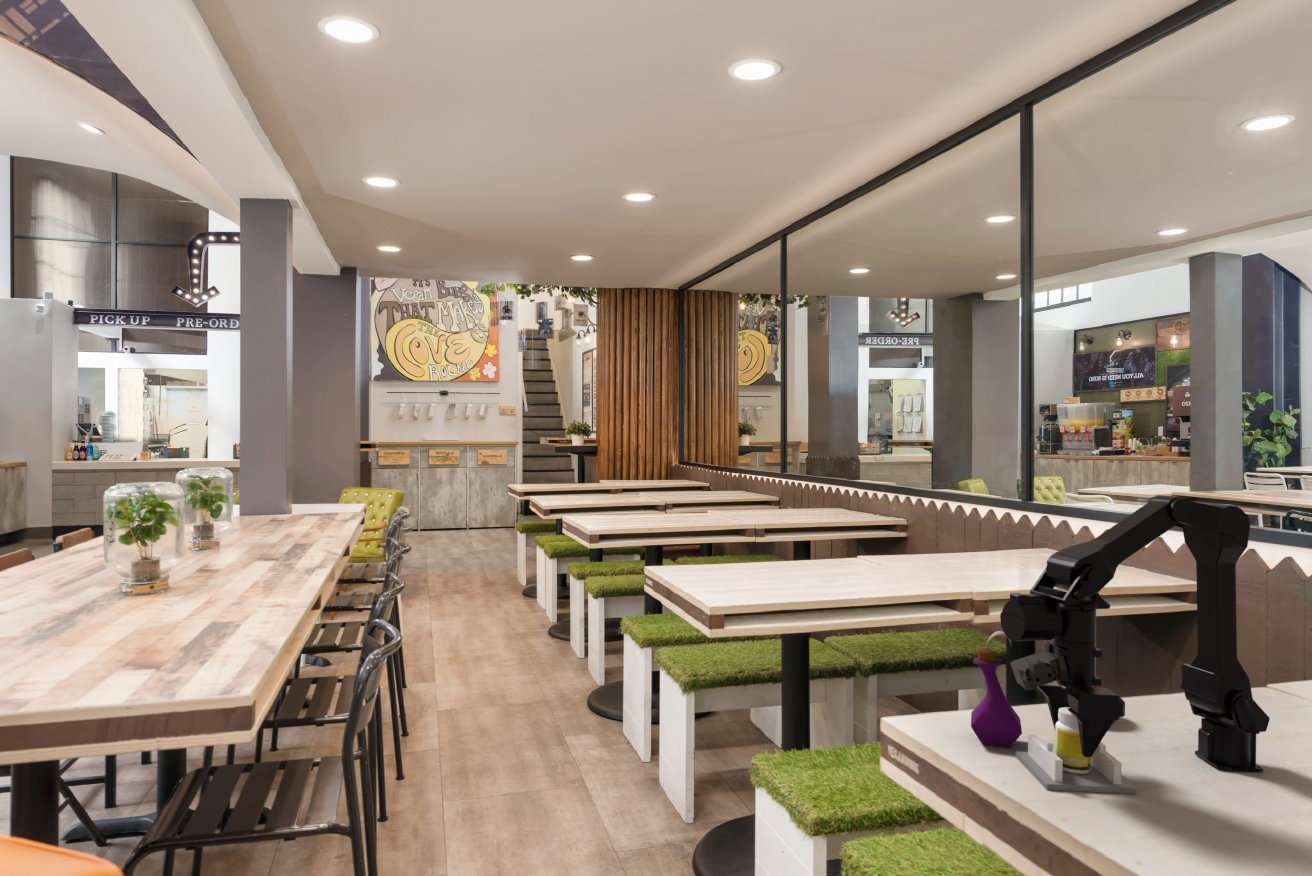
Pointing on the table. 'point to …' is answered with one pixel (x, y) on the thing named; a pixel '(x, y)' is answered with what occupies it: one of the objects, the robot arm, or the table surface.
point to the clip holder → (1054, 778)
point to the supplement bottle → (1070, 744)
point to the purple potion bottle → (994, 705)
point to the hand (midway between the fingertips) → (1072, 744)
